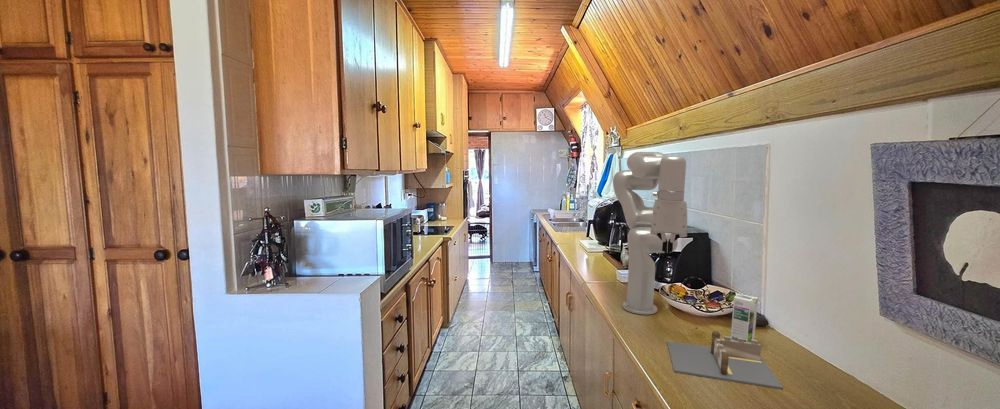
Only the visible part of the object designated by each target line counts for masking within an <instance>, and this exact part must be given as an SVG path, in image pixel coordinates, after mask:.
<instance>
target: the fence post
mask: <svg viewBox="0 0 1000 409" xmlns="http://www.w3.org/2000/svg"><path fill="white" fill-rule="evenodd" d="M730 337H731V336H729V335H724V337H723V338H721V333H720V332H719V331H718V330H713V331H712V332H711V344H710V347H711V354H713V355H714V344H715V341H716V339H720V341H721V344H722V345H723V350H726V353H728V354H729V356H731V357H738V358H745V359H752V360H759V361H760V356H761V351H762V344H761V343H759V341H758V340H757V339H754V340H753V339H751V343H750V342H744V339H743V338H738V339H737V341H734V340H731V338H730Z"/></svg>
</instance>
